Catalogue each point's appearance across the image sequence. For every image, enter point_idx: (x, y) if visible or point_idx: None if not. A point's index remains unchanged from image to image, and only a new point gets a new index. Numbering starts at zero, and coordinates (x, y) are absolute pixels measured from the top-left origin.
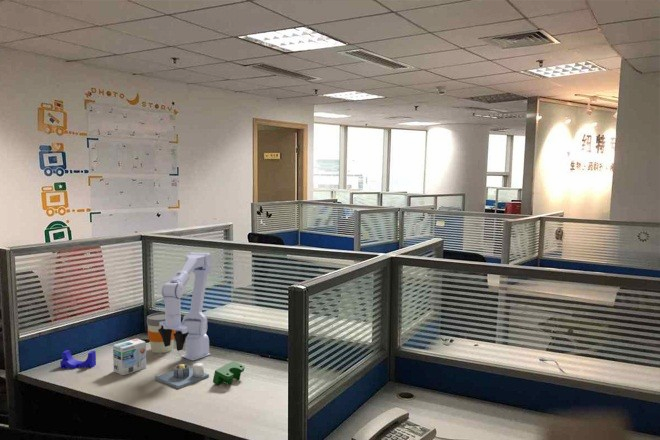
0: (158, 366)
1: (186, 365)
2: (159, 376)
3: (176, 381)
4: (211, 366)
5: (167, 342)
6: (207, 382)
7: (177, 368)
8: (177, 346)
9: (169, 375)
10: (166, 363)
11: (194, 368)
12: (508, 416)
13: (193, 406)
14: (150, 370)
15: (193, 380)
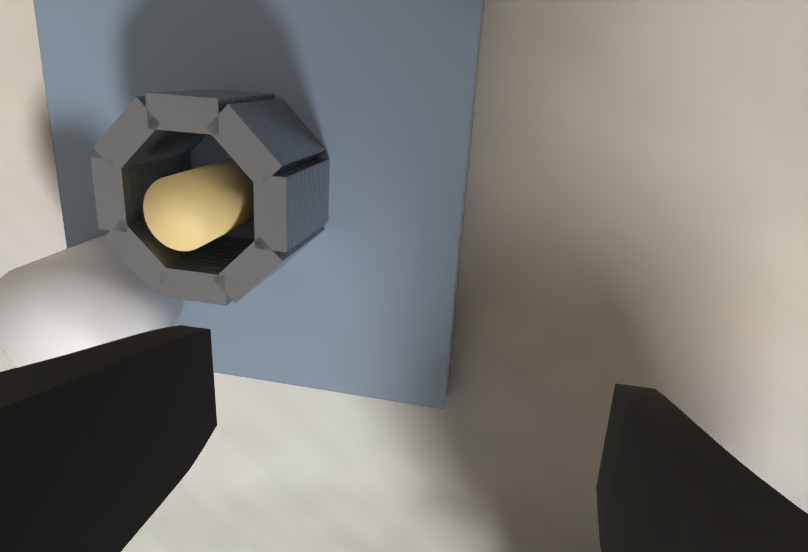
0: (796, 296)
1: (178, 270)
2: (443, 2)
3: (152, 23)
4: (280, 532)
5: (622, 489)
6: (6, 238)
7: (173, 124)
8: (109, 348)
9: (362, 104)
10: (771, 411)
11: (50, 259)
12: None
13: None
14: (796, 142)
15: (56, 159)
